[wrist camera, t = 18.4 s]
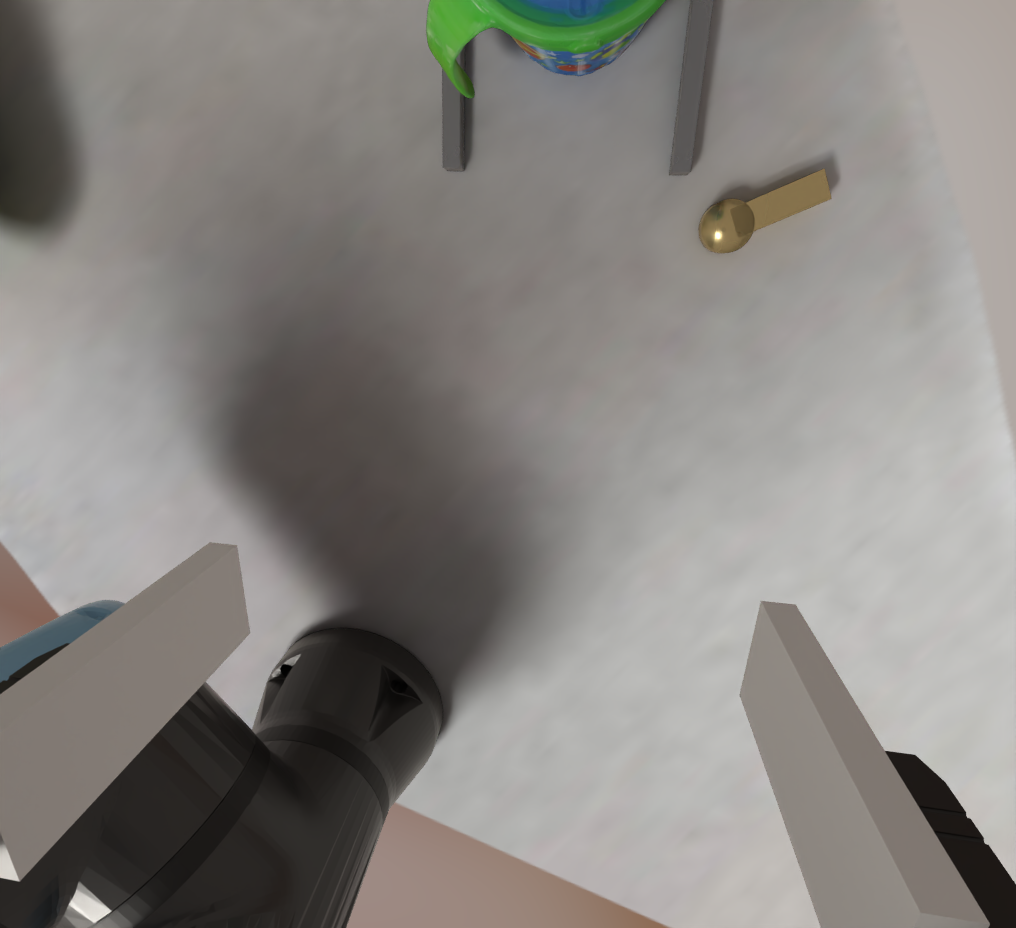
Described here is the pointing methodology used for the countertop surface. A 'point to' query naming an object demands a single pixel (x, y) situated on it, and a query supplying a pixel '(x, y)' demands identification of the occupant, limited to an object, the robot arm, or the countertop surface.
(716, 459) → the countertop surface
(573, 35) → the snack cup
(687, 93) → the bracket
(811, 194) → the brass key
